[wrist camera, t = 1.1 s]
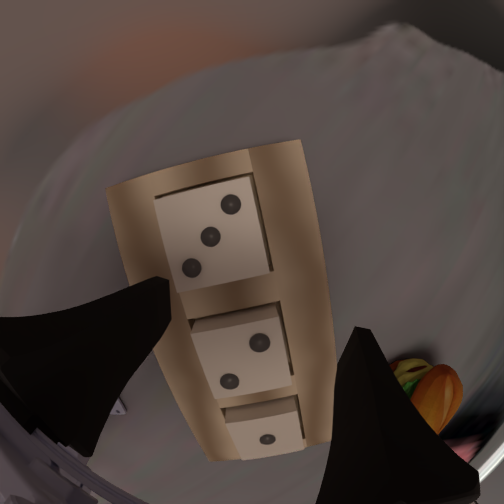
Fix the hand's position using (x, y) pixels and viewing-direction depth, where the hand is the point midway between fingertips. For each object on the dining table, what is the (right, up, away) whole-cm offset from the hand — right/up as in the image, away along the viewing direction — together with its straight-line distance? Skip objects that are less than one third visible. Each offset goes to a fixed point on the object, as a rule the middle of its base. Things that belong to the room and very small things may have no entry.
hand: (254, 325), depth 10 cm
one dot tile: (+1, -13, +12) cm, 18 cm away
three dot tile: (-3, +4, +9) cm, 10 cm away
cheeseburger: (+16, -12, +15) cm, 26 cm away
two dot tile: (-1, -5, +11) cm, 12 cm away
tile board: (-1, -4, +13) cm, 13 cm away
